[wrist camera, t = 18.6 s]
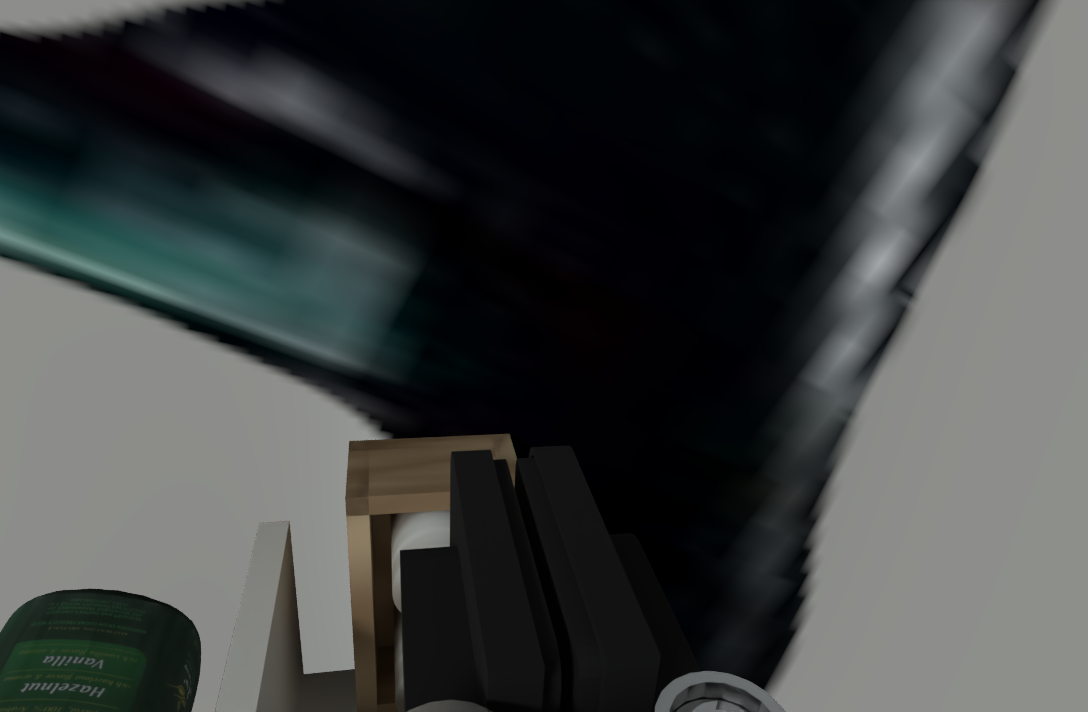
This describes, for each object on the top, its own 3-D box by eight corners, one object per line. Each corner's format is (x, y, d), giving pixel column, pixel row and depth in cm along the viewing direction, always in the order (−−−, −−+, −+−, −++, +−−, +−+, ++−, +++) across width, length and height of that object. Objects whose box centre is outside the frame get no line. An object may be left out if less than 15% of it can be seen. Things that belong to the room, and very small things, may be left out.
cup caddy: (349, 441, 31) (343, 528, 26) (509, 433, 33) (533, 515, 27) (360, 649, 36) (356, 759, 31) (500, 635, 37) (520, 739, 32)
